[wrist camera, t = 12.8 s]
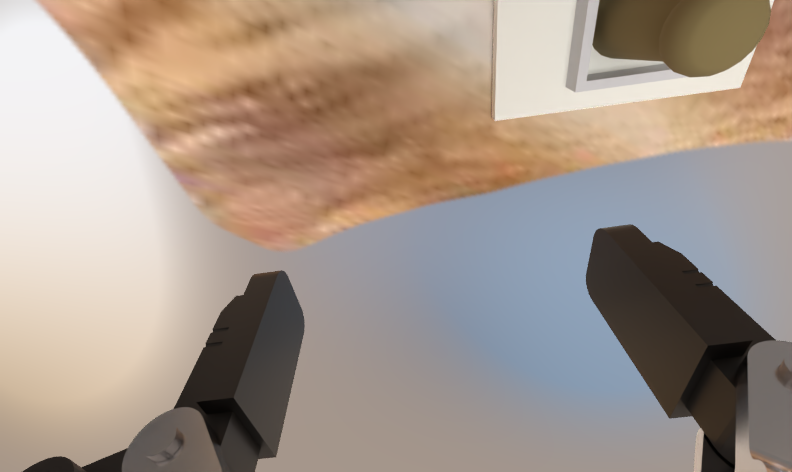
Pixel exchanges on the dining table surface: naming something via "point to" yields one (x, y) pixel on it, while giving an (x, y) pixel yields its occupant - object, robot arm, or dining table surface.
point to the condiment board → (575, 63)
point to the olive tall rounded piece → (681, 32)
